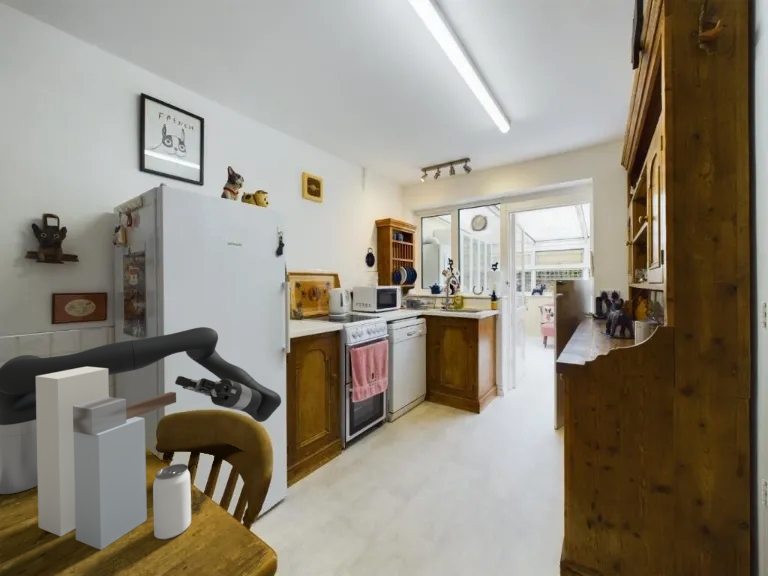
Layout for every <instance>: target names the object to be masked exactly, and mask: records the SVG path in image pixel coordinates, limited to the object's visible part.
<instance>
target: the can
mask: <svg viewBox="0 0 768 576" xmlns="http://www.w3.org/2000/svg"><path fill="white" fill-rule="evenodd" d="M191 492H192V491H191V473H190V471H189V469H188V465H187V464H185V463H175V464H172V465H168V466H166V467H163V468H161V469H160V470H158V471H157V472H156V473H155V478H154V481H153V483H152V495H153V496H152V497H153V499H152V501H153V505H152V506H153V535H154V537H155V538H156V539H158V540H169V539H173V538H175V537H178V536H180V535H181V534H183V533H184V532H185V531H186V530H187V529H188V528H189V527H190V525H191V523H192V498H191Z"/></svg>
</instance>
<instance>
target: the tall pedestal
mask: <svg viewBox="0 0 768 576" xmlns="http://www.w3.org/2000/svg"><path fill="white" fill-rule="evenodd" d="M109 380H110V379H109V375H108V368H97V367H81V368H76V369H71V370H66V371H60V372H55V373H50V374H45V375H40V376H36V420H37V472H38V486H37V511H38V512H37V513H38V515H37V516H38V517H37V518H38V523H37V524H38V529H42V530H44V531H46V532H49V533H52V534H54V535H56V536H59V537H63V536H65V535H66V534H68V533H70V532H72V531H73V530H76V523H75V473H74V432H73V406H75V405H79V404H83V403H86V402H90V401H93V400H97V399H101V398H104V397H110V391H109V389H110V388H109V387H110V386H109V385H110V383H109Z"/></svg>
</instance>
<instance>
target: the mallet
mask: <svg viewBox="0 0 768 576" xmlns="http://www.w3.org/2000/svg"><path fill="white" fill-rule="evenodd" d="M175 403H177V392H176V391H175V392H174V391H169V392H166V393H163V394H159V395H156V396H152V397H149V398H146V399H144V400H141V401H137V402H134V403H131V404H130V403H129V404H127V399H126V398H119V397H115V396H114V397H113V396H109V397H104V398H101V399H97V400H93V401H90V402H86V403H83V404H79V405H75V406H73V432H78V433H83V434H87V435H95V434H98V433H101V432H104V431H106V430H109V429H112V428H115V427H117V426H120V425H123V424H126V420H127V419H130V418H133V417H138V416H139V417H140V416H141V415H144V414H147V413H150V412H152V411H155V410H158V409H161V408H163V407H167V406H169V405H172V404H175Z"/></svg>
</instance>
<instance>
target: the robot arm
mask: <svg viewBox="0 0 768 576" xmlns="http://www.w3.org/2000/svg"><path fill="white" fill-rule="evenodd" d="M218 340H219V334H218V332H217V331H216V330H215V329H213V328H212V327H211V328H210V327H205V326H200V327H199V326H198V327H194V328H189V329H186V330H182V331H178V332H173V333H169V334H163V335H158V336H152V337H145V338H140V339H139V338H138V339H132V340H125V341H120V342H114V343H109V344H104V345H100V346H96V347H94V348H93V347H92V348H89V349H85V350H82V351H79V352H75V353H71V354H66V355H64V354H63V355H59V356H58V355H56V356H48V357H47V356H46V357H40V356H37V355H32V354H25V355H20V356H15V357H12V358H11V359H9V360H8V361H6V362H4V363H3V365H1V366H0V495H9V494H10V495H11V494H15V493H16V494H17V493H20V492H25V491H27V490H29V489H32V488H35V487H38V472H37V420H36V376H40V375H45V374H50V373H55V372H60V371H66V370H71V369H76V368H81V367H97V368H108V376H112V375H116V374H118V375H119V374H122V373H126V372H131V371H136V370H139V369H143V368H145V367H148V366H151V365H153V364H156V363H157V362H158V361H159V362H160V361H161V360H162V359H165V358H167V357H169V356H171V355H174V354H178V353H179V354H180V353H184V352H185V353H186V355H187V356H188V357H189V358H190V359H191V360H193V361H194V362H195V363H197V364H198V365H199V366H201V367H203V368H204V369H206V370H207V371H209V372H210V373H212V374H213V375H214V376H216V377H217V378H218V379H219V380H216V381H214V380H210V379H207V378H203V377H202V378H201V379H198V380H197V379H193V378H189V377H184V376H181V375H178V376H177V377H176V380H175V381H174V384H175V385H177V386H180V387H182V389H184V390H189V391H191V392H194V393H197V394H201V395H202V394H203V395H204V396H206V397H210V401H211V402H212V404H213V405H215V406H218V407H223V408H226V409H230V410H234V411H241V412H243V413H246V414H248V415H249V416H250V417H251V418H252V419H253V420H255V422H258V423H262V422H263V423H264V422H265V421H268V419H269V418H270V417H271V416H272V415H273V414H274V412H275V411H276V410H277V409H278V408H279V407H280V406H281V404H282V398H281V396H280V395H279V393H278V392H276V391H274V390H272V389H270V388H268V387H266V386H264V385H263V384H261V383H260V382H258V381H256V380H255V378H253V377H252V375H250V374H249V373H248V372H247V371H246V370H244V368H241V367H240V366H237V365H235V364H232V363H230V362H228V361H226V359H224V358H223V357H222V356H220V354H219V353H218V352H217V351H216V347H217V344H218Z"/></svg>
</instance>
